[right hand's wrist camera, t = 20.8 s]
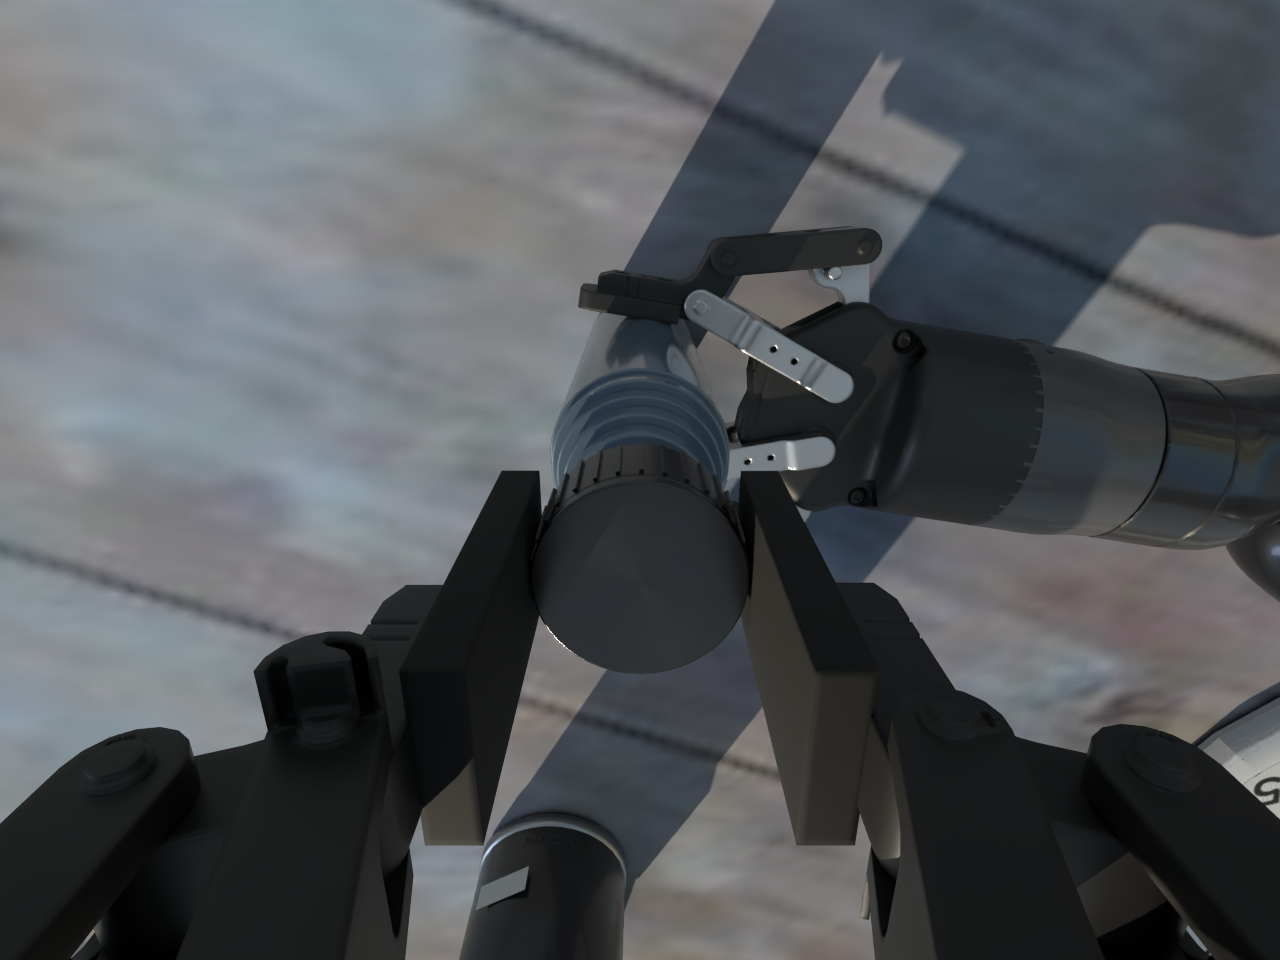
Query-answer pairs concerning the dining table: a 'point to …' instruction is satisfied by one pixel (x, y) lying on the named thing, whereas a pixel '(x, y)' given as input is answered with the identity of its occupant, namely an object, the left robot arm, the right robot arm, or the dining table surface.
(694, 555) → the cap
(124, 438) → the dining table surface
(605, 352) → the bottle
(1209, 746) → the wall clock
